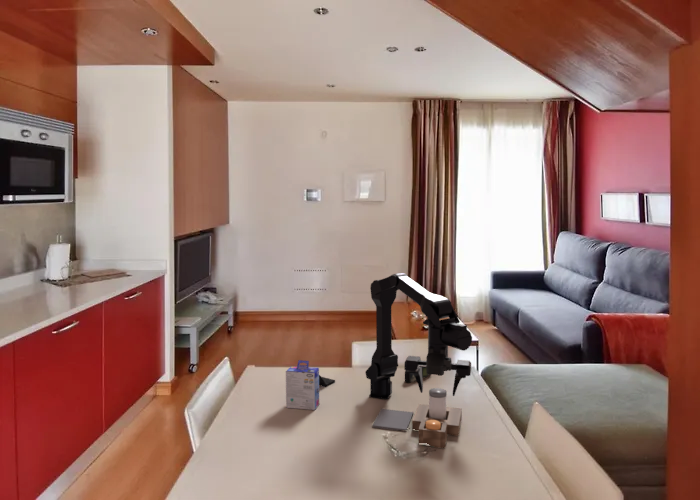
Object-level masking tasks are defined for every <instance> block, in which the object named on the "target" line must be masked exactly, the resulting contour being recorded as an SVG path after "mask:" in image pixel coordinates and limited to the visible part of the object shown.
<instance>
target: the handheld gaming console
mask: <svg viewBox="0 0 700 500" xmlns="http://www.w3.org/2000/svg"><path fill="white" fill-rule="evenodd" d="M335 383H336V379H332V378H328V377H325V376H321V375H320V374H319V385H320V386H319V387H322V388H327V387H328V386H329V387H330V386H331V385H333V384H335Z"/></svg>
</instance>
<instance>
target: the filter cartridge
mask: <svg viewBox="0 0 700 500" xmlns="http://www.w3.org/2000/svg"><path fill="white" fill-rule="evenodd" d="M447 395H448V394H447V390H446V389H444V388H441V387H440V388H439V387H434V388H430V389H429V391H428V405H429V418H434V419H443V420H446V407H447Z"/></svg>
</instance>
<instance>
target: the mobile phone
mask: <svg viewBox="0 0 700 500" xmlns="http://www.w3.org/2000/svg"><path fill="white" fill-rule="evenodd" d="M429 376H430V375H429V374H427V372H426V368H425V367H422V379H424V377H425V378H427V377H429ZM414 382H417V380H416V378H415V376H414V375H413V374H412V373H409V371H407V370H404V383H406V384H411V383H414Z"/></svg>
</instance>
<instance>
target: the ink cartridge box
mask: <svg viewBox="0 0 700 500" xmlns="http://www.w3.org/2000/svg"><path fill="white" fill-rule="evenodd" d="M302 363H303V364H305V365H303V364H302ZM309 363H310V361H309V360H300V359H299V360H298V361H297V366H289V368H288V369H287V370H286V371H285V402H286V403H285V408H288V409H297V410H298V409H299V410H300V409H301V410H313V411H315V410H316V409H317V408H318V406H319V405H320V386H319V375H320V367H314V366H313V367H311V366H309V365H310V364H309ZM301 364H302V365H301Z"/></svg>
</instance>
